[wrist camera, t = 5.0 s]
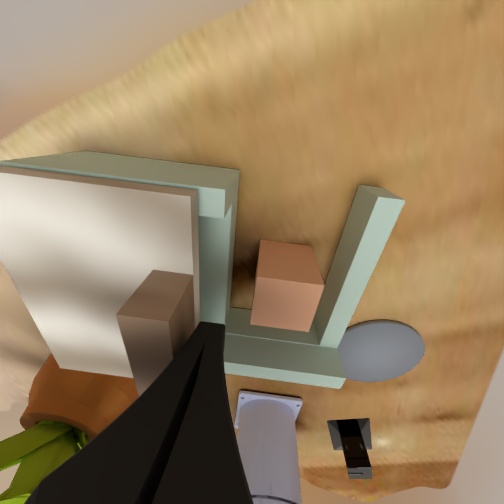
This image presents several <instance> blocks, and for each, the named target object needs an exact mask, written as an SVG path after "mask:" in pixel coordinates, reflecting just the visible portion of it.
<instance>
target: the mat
mask: <svg viewBox="0 0 504 504" xmlns="http://www.w3.org/2000/svg"><path fill="white" fill-rule="evenodd" d="M337 350H338V353H339V357H340V360H341V363H342V367H343V370H344V373H345V377H346V378H348V379H351V380H355V381H362V382H377V381H384V380H389V379H392V378H395V377H398V376H400V375H403V374H405V373H407V372H408V371H410V370H411V369H413V368H414V367H415V366H416V365H417V364H418V363H419V362H420V361H421V359H422V357H423V355H424V352H425V345H424V342H423V340H422V338H421V337H420V335H419V334H418V333H417V332H416V331H415V330H414V329H413V328H412V327H410V326H408V325H406V324H404V323H401V322H397V321H392V320H372V321H366V322H362V323H358V324H356V325H353V326H351V327H349V328H347V329H346V330H345V332H344V335H343V337H342V339H341V341H340V343H339V345H338V348H337Z"/></svg>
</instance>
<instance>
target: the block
mask: <svg viewBox="0 0 504 504" xmlns="http://www.w3.org/2000/svg"><path fill="white" fill-rule="evenodd" d="M324 286H325V285H324V282H323V279H322V276H321V273H320V271H319V268H318V265H317V262H316V259H315V256H314V253H313V250H312V247H311V246H306V245H298V244H290V243H283V242H275V241H267V240H260V246H259V253H258V260H257V268H256V275H255V282H254V292H253V301H252V311H251V320H250V324H252V325H259V326H267V327H274V328H282V329H289V330H297V331H304V332H309V330H310V327H311V324H312V321H313V318H314V315H315V312H316V309H317V306H318V304H319V301H320V298H321V295H322V292H323V289H324Z"/></svg>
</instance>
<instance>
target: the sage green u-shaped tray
mask: <svg viewBox="0 0 504 504" xmlns="http://www.w3.org/2000/svg"><path fill="white" fill-rule="evenodd" d="M0 166H7V167H15V168H23V169H31V170H39V171H47V172H55V173H63V174H71V175H79V176H87V177H95V178H103V179H111V180H119V181H127V182H135V183H143V184H151V185H159V186H167V187H175V188H183V189H191V190H198V241H199V294H200V322H201V321H204V322H212V323H219V324H224V325H225V326H226V328H225V344H224V353H223V354H224V370H225V373H226V374H234V375H241V376H249V377H256V378H263V379H271V380H278V381H286V382H293V383H300V384H308V385H315V386H322V387H330V388H337V389H340V388H341V387H342V385H343V383H344V381H345V379H346V377H345V373H344V370H343V367H342V363H341V360H340V357H339V353H338V350H337V348H338V345H339V343H340V341H341V339H342V337H343V335H344V332H345V330H346V328H347V326H348V324H349V322H350V319H351V317H352V315H353V313H354V311H355V309H356V306H357V304H358V302H359V300H360V298H361V296H362V294H363V291H364V289H365V287H366V285H367V283H368V281H369V278H370V276H371V274H372V272H373V270H374V268H375V265H376V263H377V261H378V259H379V257H380V255H381V252H382V250H383V248H384V246H385V244H386V242H387V240H388V237H389V235H390V233H391V231H392V229H393V227H394V224H395V222H396V220H397V218H398V216H399V214H400V211H401V209H402V207H403V205H404V203H405V201H406V200H404V199H402V198H401V197H399V196H397V195H395V194H393V193H391V192H389V191H387V190H385V189H384V188H382V187H374V186H366V185H359V186H358V189H357V192H356V195H355V198H354V201H353V204H352V206H351V209H350V212H349V215H348V218H347V221H346V224H345V227H344V230H343V233H342V236H341V239H340V242H339V244H338V247H337V250H336V253H335V256H334V259H333V262H332V265H331V268H330V271H329V274H328V277H327V279H326V282H325V286H324V289H323V292H322V295H321V298H320V301H319V304H318V306H317V309H316V312H315V315H314V318H313V321H312V324H311V327H310V330H309V332H304V331H297V330H289V329H282V328H274V327H267V326H259V325H252V324H250V320H251V311H252V310H247V309H240V308H232V307H230V298H231V285H232V271H233V258H234V244H235V231H236V217H237V204H238V190H239V177H240V170H237V169H229V168H221V167H213V166H205V165H197V164H189V163H181V162H172V161H164V160H156V159H148V158H140V157H132V156H124V155H116V154H108V153H100V152H92V151H80V152H72V153H64V154H55V155H47V156H39V157H30V158H22V159H14V160H5V161H0Z"/></svg>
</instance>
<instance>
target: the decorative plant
mask: <svg viewBox="0 0 504 504" xmlns="http://www.w3.org/2000/svg"><path fill="white" fill-rule="evenodd" d="M138 397H139V395H138V392H137V388H136V385H135V381H134V378H129V377H122V376H114V375H107V374H100V373H92V372H85V371H78V370H70V369H63V368H60V367H59V365H58V363H57V361H56V360H55V358H54V356H53V354H51V355H50V356H49V358H48V359H47V361H46V362H45V364H44V365H43V366H42V368H41V369H40V371H39V372H38V374H37V375H36V376H35V378H34V381H33V384H32V387H31V390H30V393H29V404H28V406H27V408H26V410H25V412H24V413H23V415H22V416H21V419H20V423H21V425H22V426H23V428H24V429H25V431H23V432H21V433H19V434H16V435H14V436H12V437H10V438H7V439H5V440H3V441H1V442H0V471H1V470H4V469H6V468H9V467H11V466H14V465H16V464H18V463H20V466H19V468H18V470H17V472H16V474H15V476H14V478H13V480H12V483H11V485H10V487H9V488H8V489H7V490H6V491H5V492H3V493H2V494H1V495H0V504H24V503H25V501H26V500H27V499H28V497H29V496H30V495H31V494H32V492H33V491H34V490H35V488H36V487H37V486H38V484H39V483H40V482H41V481H42V479H44V478H45V477H46V476H47V475H49V474H50V473H51V472H52V471H54V470H55V469H56V468H57V467H59V466H60V465H61V464H62V463H64V462H65V461H66V460H68V459H69V458H70V457H71V456H73V455H74V454H75V453H76V452H78V451H79V450H80V449H81V448H83V447H84V446H85V445H86V444H87V443H89V442H90V441H91V440H92V439H93V438H94V437H95V436H97V435H98V434H99V433H100V432H101V431H102V430H104V429H105V428H106V427H107V426H108V425H109V424H111V423H112V422H113V421H114V420H115V419H116V418H117V417H118V416H119V415H120V414H122V413H123V412H124V411H125V410H126V409H127V408H128V407H129V406H130V405H131V404H132V403H133V402H134V401H135V400H136V399H137V398H138Z"/></svg>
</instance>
